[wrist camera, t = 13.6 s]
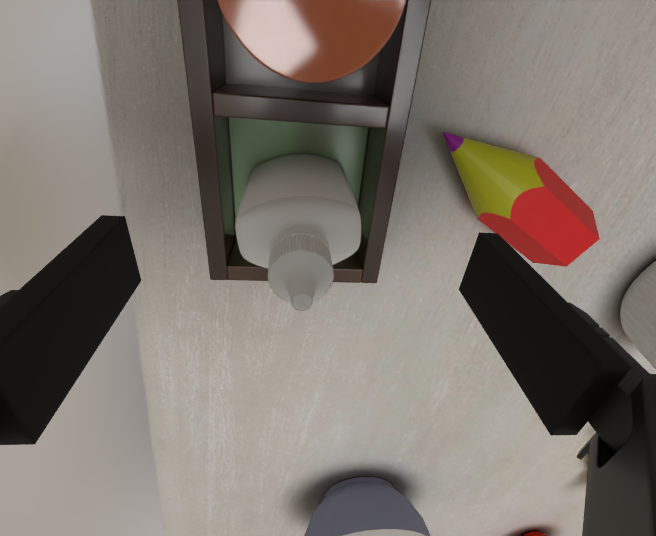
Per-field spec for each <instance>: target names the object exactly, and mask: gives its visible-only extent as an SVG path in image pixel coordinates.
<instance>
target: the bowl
mask: <svg viewBox="0 0 656 536" xmlns="http://www.w3.org/2000/svg"><path fill="white" fill-rule="evenodd" d="M305 536H430V534H429V531H428V529H427V527H426V525H425V522H424V520H423V518H422V517H421V515H420V514H419V513H418V511H417V510H416V509H415V508H414V506H413V505H412V504H411V503H410V501H409V500H408V499H407V498H406V497H405V496H404V495H402V494H401V493H399V492H397V491H396V490H394V489H393V487H392V485H391V484H390V483H389V482H387V481H385V480H383V479H380V478H375V477H357V478H351V479H347V480H344V481H342V482H339V483H337V484H335V485H334V486H332V487H331V488H330V489H329V490H328V491H327V492H326V494H325V496H324V500H323V501H322V502H321V504H320V505H319V506H318V507H317V508H316V509H315V511H314V513H313V515H312V518H311V520H310V523H309V525H308V528H307V530H306V533H305Z"/></svg>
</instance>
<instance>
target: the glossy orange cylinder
mask: <svg viewBox="0 0 656 536" xmlns="http://www.w3.org/2000/svg"><path fill="white" fill-rule="evenodd" d="M217 1H218V4H219V7H220V9H221V11H222V13H223V16H224V18H225V20H226V22H227V24H228V25H229V27H230V29H231V30H232V32H233V34H234V35H235V37H236V38H237V39H238V41H239V42H240V43H241V45H242V46H243V47H244V48H245V49H246V50H247V51H248V52H249V53H250V55H251V56H252V57H254V58H255V59H256V60H257V61H258V62H259V63H261V64H262V65H263V66H265V67H266V68H268V69H269V70H271V71H272V72H274V73H276V74H278V75H281V76H283V77H285V78H288V79H291V80H295V81H299V82H306V83H323V82H330V81H334V80H337V79H341V78H343V77H345V76H348V75H350V74H352V73H354V72H355V71H357V70H358V69H360V68H362V67H363V66H364V65H366V64H367V63H368V62H369V61H370V60H372V59H373V58H374V57H375V56H376V54H377V53H378V52H379V51H380V50H381V49H382V48H383V46H384V45H385V44H386V42H387V41H388V40H389V38H390V37H391V35H392V33H393V31H394V30H395V28H396V26H397V24H398V22H399V20H400V17H401V15H402V13H403V10H404V7H405V4H406V1H407V0H217Z"/></svg>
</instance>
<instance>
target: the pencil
mask: <svg viewBox="0 0 656 536" xmlns="http://www.w3.org/2000/svg"><path fill="white" fill-rule="evenodd" d="M443 135H444V137H445V140H446V142H447V145H448V147H449V150H450V152H451V155H452V157H453V160H454V162H455V165H456V167H457V169H458V172H459V174H460V177H461V179H462V182H463V184H464V187H465V189H466V192H467V194H468V197H469V199H470V202H471V204H472V207H473V209H474V212H475V213H476V215H477V217H478V219H479V220H480V221H481V222H482V223H484V224H485V225H486V226H488V227H489V228H490V229H491V230H493V231H494V232H495V233H496V234H499V235H500V236H501V237H502V238H503V239H504V240H505V241H506V242H508V243H509V244H510V245H511V246H513V247H514V248H515V249H516V250H518V251H519V252H520V253H521V254H523V255H524V256H525V257H526V258H528V259H529V260H530V261H532V262H533V263H541V264H550V265H559V266H567V265H569V264H570V263H571V262H572V261H573V260H575V259H576V258H577V257H578V256H580V255H581V254H582V253H583V252H584V251H586V250H587V249H588V248H589V247H590V246H592V245H593V244H594V243H595V242H597V241H598V240H599V235H598V231H597V227H596V223H595V218H594V214H593V211H592V210H591V209H590V208H589V207H588V206H587V205H586V204H585V203H584V202H583V201H582V200H581V199H580V198H579V197H578V196H577V195H576V194H575V193H574V192H573V191H572V190H571V189H570V188H569V187H568V186H567V185H566V184H565V183H564V182H563V181H562V180H561V179H560V178H559V177H558V176H557V175H556V174H555V173H554V172H553V171H552V170H551V169H550V168H549V167H548V166H547V165H546V164H545V163H544V162H543V161H542V160H541V159H540V158H538V157H534V156H531V155H527V154H524V153H520V152H516V151H512V150H509V149H505V148H501V147H497V146H494V145H490V144H486V143H482V142H479V141H475V140H471V139H467V138H464V137H460V136H456V135H453V134H449V133H445V132H443Z"/></svg>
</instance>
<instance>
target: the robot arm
mask: <svg viewBox="0 0 656 536" xmlns="http://www.w3.org/2000/svg"><path fill="white" fill-rule="evenodd" d="M140 282H141V278H140V274H139V270H138V266H137V262H136V258H135V254H134V250H133V246H132V242H131V239H130V235H129V231H128V227H127V223H126V219H125V216H104V215H103V216H101V217H99V218H98V219H97V220H96V221H95V222H94V223H93V224H92V225H91V226H89V228H87V229H86V230H85V231H84V232H83V233H82V234H81V235H79V236H78V237H77V238H76V239H75V240H74V241H73V242H72V243H71V244H69V245H68V246H67V248H65V249H64V250H63V251H62V252H61V253H60V254H58V255H57V256H56V257H55V258H54V259H53V260H52V261H51V262H50V263H48V264H47V265H46V266H45V267H44V268H43V269H42V270H41V271H40V272H39V273H37V274H36V275H35V276H34V277H33V278H32V279H31V280H30V281H28V283H26V284H25V285H24V286H23V287H22V288H21V289H20V290H11V291H9V292H7V293H5V294H3V295H1V296H0V445H17V444H19V445H20V444H35V443H36V441H37V440H38V438H39V437H40V436H41V434H42V432H43V431H44V429H45V428H46V426H47V425H48V423H49V422H50V420H51V419H52V417H53V416H54V414H55V412H56V411H57V409H58V408H59V406H60V405H61V403H62V402H63V400H64V398H65V397H66V396H67V394H68V392H69V391H70V389H71V388H72V386H73V385H74V383H75V382H76V380H77V378H78V377H79V375H80V374H81V372H82V371H83V369H84V368H85V366H86V365H87V363H88V362H89V360H90V359H91V357H92V355H93V354H94V352H95V351H96V349H97V348H98V346H99V344H100V343H101V342H102V340H103V338H104V337H105V335H106V334H107V332H108V331H109V329H110V327H111V326H112V325H113V323H114V322H115V320H116V319H117V317H118V315H119V314H120V312H121V311H122V309H123V308H124V306H125V304H126V303H127V302H128V300H129V299H130V297H131V295H132V294H133V292H134V291H135V289H136V288H137V286H138V285H139V283H140ZM459 290H460V292H461V294H462V295H463V297H464V298H465V300H466V301H467V303H468V305H469V306H470V308H471V309H472V311H473V313H474V314H475V316H476V317H477V319H478V321H479V322H480V324H481V325H482V327H483V328H484V330H485V332H486V333H487V335H488V336H489V338H490V340H491V341H492V343H493V344H494V346H495V347H496V349H497V351H498V352H499V354H500V355H501V357H502V359H503V360H504V362H505V363H506V365H507V367H508V368H509V370H510V371H511V373H512V374H513V376H514V378H515V379H516V381H517V382H518V384H519V386H520V387H521V389H522V390H523V392H524V393H525V395H526V397H527V398H528V400H529V401H530V403H531V405H532V406H533V408H534V409H535V411H536V413H537V414H538V416H539V417H540V419H541V420H542V422H543V424H544V425H545V427H546V428H547V430H548V432H549V433H550V435H577V434H578V432H579V431H580V430H581V429H582V428H583V426H584V425H585V424H586V423H587V422H589V423H590V424H591V426H592V427H593V428H594V430H595V431H596V433H595V434H594V435H593V436H592V438H591V439H590V440H589V441H588V442H587V443H586V444H585V446H584V447H583V448H582V449H581V450H580V451H579V453H578V455H577V458H579V459H582V458H583V457H584V456H585V455H586V454H589V461H588V473H587V485H586V497H585V510H584V522H583V534H582V536H656V374H649V373H648V372H647V371H646V370H645V369H644V368H643V367H642V366H641V365H640V364H639V363H638V362H637V361H636V360H635V359H634V358H633V357H632V356H631V355H630V354H629V353H627V352H626V351H625V350H624V349H623V348H622V347H621V346H620V345H619V344H618V343H617V342H616V341H615V340H614V339H613V338H610V337H609V336H610V335H609V334H608V333H607V332H606V331H605V330H604V329H603V328H599V325H598V324H597V323H596V322H595V321H594V320H593V319H592V318H591V317H590V316H589V315H588V314H587V313H585V312H584V311H582V310H581V309H579V308H578V307H576V306H574V305H573V304H571V303H567V302H566V301H565V300H564V299H563V298H562V297H561V296H560V295H559V294H558V293H557V292H556V291H555V290H554V289H553V288H552V287H551V286H550V285H549V284H548V283H547V282H546V281H545V280H544V279H543V278H542V277H541V276H540V275H539V274H538V273H537V272H536V271H535V270H534V269H533V268H532V267H531V266H530V265H529V264H528V263H527V262H526V261H525V260H524V259H523V258H522V257H521V256H520V255H519V254H518V253H517V252H516V251H515V250H514V249H513V248H512V247H511V246H510V245H509V244H508V243H507V242H506V241H505V240H504V239H503V238H502V237H501V236H500V235H499V234H496V233H479V235H478V238H477V241H476V243H475V246H474V249H473V252H472V255H471V257H470V260H469V263H468V266H467V268H466V271H465V274H464V277H463V279H462V282H461V285H460V288H459Z"/></svg>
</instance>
